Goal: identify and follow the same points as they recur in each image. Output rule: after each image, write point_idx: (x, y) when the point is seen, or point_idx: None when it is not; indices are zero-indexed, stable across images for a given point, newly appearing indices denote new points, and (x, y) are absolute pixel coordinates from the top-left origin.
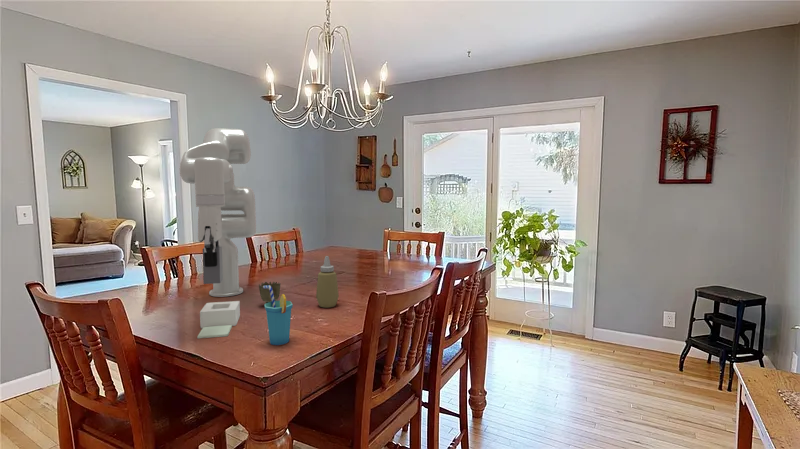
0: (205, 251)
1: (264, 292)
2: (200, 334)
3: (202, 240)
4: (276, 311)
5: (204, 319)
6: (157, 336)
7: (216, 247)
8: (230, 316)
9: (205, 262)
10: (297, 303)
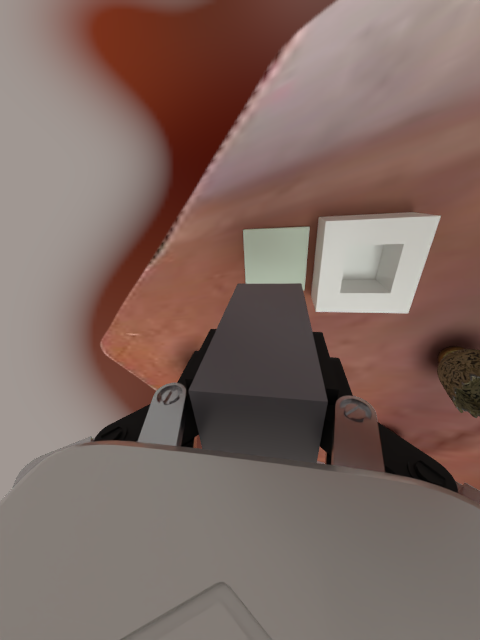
0: (159, 396)
1: (456, 371)
2: (254, 234)
3: (251, 455)
4: None
5: (321, 230)
6: (282, 104)
7: (261, 455)
8: (314, 294)
9: (205, 343)
10: (431, 401)
